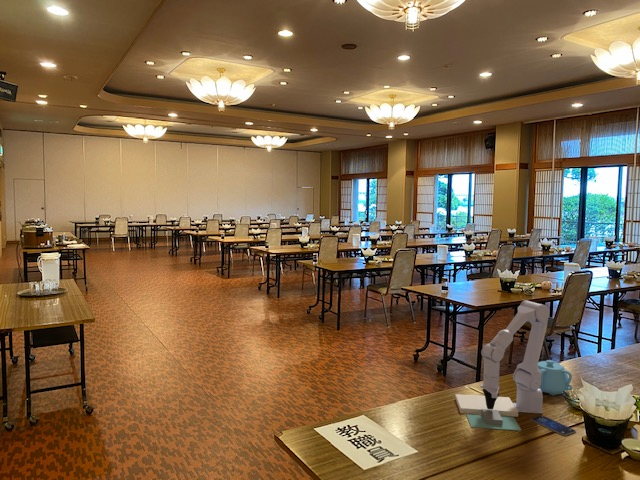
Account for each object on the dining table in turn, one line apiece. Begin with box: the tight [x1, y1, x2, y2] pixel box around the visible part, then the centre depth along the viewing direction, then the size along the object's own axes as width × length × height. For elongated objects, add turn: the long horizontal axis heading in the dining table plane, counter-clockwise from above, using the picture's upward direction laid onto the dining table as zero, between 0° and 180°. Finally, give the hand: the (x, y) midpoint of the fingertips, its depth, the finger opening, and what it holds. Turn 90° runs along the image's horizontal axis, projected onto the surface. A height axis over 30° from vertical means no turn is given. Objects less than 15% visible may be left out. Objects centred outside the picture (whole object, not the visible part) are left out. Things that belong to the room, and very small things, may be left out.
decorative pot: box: [537, 359, 573, 396], centre depth 216 cm, size 16×16×14 cm
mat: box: [465, 413, 522, 432], centre depth 185 cm, size 18×11×1 cm, turn 83°
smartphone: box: [530, 414, 577, 437], centre depth 183 cm, size 7×1×15 cm
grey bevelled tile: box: [481, 409, 503, 425], centre depth 187 cm, size 6×9×2 cm, turn 172°
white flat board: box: [454, 393, 519, 418], centre depth 198 cm, size 22×14×2 cm, turn 83°
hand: (489, 408), depth 190 cm, fingers closed
